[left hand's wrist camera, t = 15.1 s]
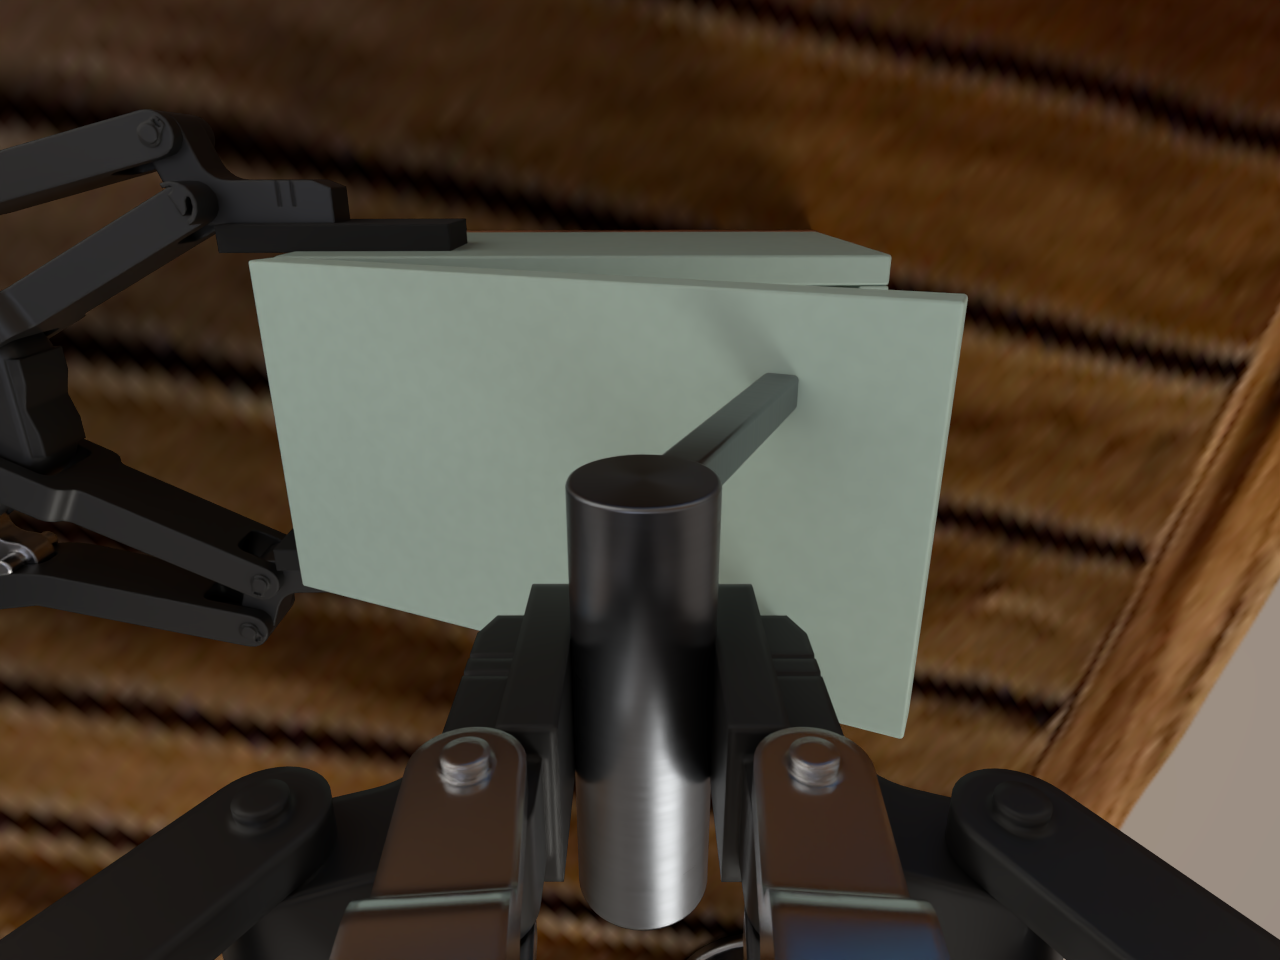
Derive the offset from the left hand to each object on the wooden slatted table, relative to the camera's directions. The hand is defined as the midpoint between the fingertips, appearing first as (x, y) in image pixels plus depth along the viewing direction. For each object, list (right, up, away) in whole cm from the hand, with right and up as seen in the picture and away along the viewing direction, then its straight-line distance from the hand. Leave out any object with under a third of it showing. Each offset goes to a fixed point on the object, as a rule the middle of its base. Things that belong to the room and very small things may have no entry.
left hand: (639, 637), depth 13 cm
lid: (-2, +3, +7) cm, 8 cm away
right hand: (-5, +5, +13) cm, 15 cm away
